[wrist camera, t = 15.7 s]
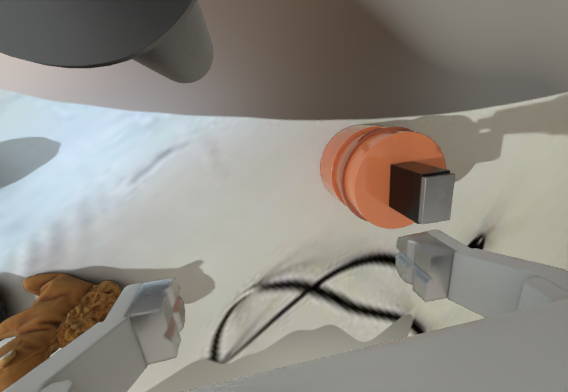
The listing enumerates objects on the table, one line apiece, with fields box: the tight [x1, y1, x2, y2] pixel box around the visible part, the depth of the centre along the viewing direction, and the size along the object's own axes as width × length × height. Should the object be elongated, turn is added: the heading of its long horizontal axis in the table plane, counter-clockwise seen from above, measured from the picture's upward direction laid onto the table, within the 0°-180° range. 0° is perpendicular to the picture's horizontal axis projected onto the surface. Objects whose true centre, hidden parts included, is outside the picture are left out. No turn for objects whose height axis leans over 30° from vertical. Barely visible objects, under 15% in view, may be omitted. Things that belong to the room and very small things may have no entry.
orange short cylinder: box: [320, 125, 446, 229], centre depth 35 cm, size 12×12×12 cm
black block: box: [389, 161, 455, 224], centre depth 27 cm, size 5×3×6 cm, turn 5°
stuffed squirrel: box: [0, 273, 122, 392], centre depth 33 cm, size 10×14×13 cm
